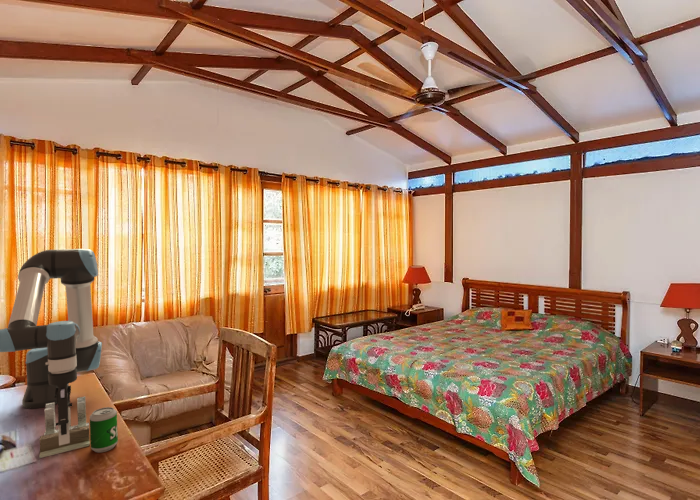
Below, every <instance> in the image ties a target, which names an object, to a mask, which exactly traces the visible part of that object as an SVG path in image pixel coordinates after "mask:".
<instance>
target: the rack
mask: <svg viewBox="0 0 700 500" xmlns="http://www.w3.org/2000/svg"><path fill="white" fill-rule="evenodd" d="M76 400H77V401H76V408H77V409H76V410H77V413H76V414H77V424H76V425H71V427H69V430H71V429H75V428H79V427H84V426H88V425H89V426H90V421H89V422H87V408H86V396H85V395H84V396H80V397H77V398H76ZM55 423H56V404H55V402H53V403H48V404H46V407H45V408H44V426H45V431H44V433H43V436H44V435H49V434H53V433H57V432H58V429H57V428H56V427H57V426H56V424H55Z"/></svg>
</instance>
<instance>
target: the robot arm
mask: <svg viewBox="0 0 700 500" xmlns="http://www.w3.org/2000/svg"><path fill="white" fill-rule="evenodd" d="M98 276H99V270H98V261H97V258H96V255H95V253H94V251H93V250H92V249H89V248H68V249H66V248H65V249H64V248H63V249H46V250H42V251H39V252H38V253H35V254H33V255H32V256H31V257H29V258H28V259H27V260H26V261H25V262H24V263H23V264H22V265H21V267H20V270H19V272H18V275H17V279H18V281H19V286H18V288H17V292H16V295H15V299H14V303H13V307H12V309H11V314H10V317H9V321H8V325H7V327H5V328H1V329H0V353H12V352H13V353H15V352H19V351H21V352H22V351H27V350H28V351H27V352H26V354H25V371H26V389H25V392H24V394H23V397H22V400H21V401H22V402H21V403H22V404H21V407H22V408H24V409H39V408H46V404H48V403H53V402H55V405H57V422H55V424H56V427H58V432H59V445H64V444H68V443H70V435H69V427H71V426H72V421H71V420H72V419H71V407H73V402H71V393H72V392H71V391H72V385H69V384H70V383H71V384H72V383H74V382H76V381H77V380H78V373H82V372H89V371H94V370H97V369H99V367H100V364H101V357H102V349H103V342H101V341H99V338H98V337H97V336H95V335H94V321H93V308H92V307H93V305H92V293H91V290H92V289H91V288H92V287H91V284H92V283H93V282H94V281H95V278H96V277H98ZM52 279H60V283H61V284H62V285H63V286H65V294H66V307H67V309H66V310H67V320H61V321H54V322H50V323H48V324H45V325H44V324H43V325H38V320H39V314H40V311H41V306H42V299H43V297H44V290H45V285H47V283H48V282H49V281H50V280H52Z"/></svg>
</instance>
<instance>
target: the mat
mask: <svg viewBox="0 0 700 500" xmlns="http://www.w3.org/2000/svg"><path fill="white" fill-rule="evenodd" d="M89 446H90V447H91V440H90V439H89V441H85V442H81V443H77V444H73V445H69V446H65V447H61V448H57V449H53V450H48V451H44V452H40V451H39V455H38V456H39V458H40V459H41V458H46V457H50V456H53V455H58V454H61V453H65V452H70V451H73V450H77V449H82V448H86V447H89Z"/></svg>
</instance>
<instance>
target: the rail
mask: <svg viewBox="0 0 700 500" xmlns="http://www.w3.org/2000/svg"><path fill="white" fill-rule="evenodd" d="M69 435H70V443H68V444H64V445H59V432H57V433H53V434H49V435H44V434H43V435H41V436H39V453H40V452H44V451H48V450H53V449H57V448H61V447H65V446H69V445H73V444H77V443H81V442H85V441H89V440H90V424H89V425H88V426H84V427H79V428H75V429H71V430H69Z"/></svg>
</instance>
